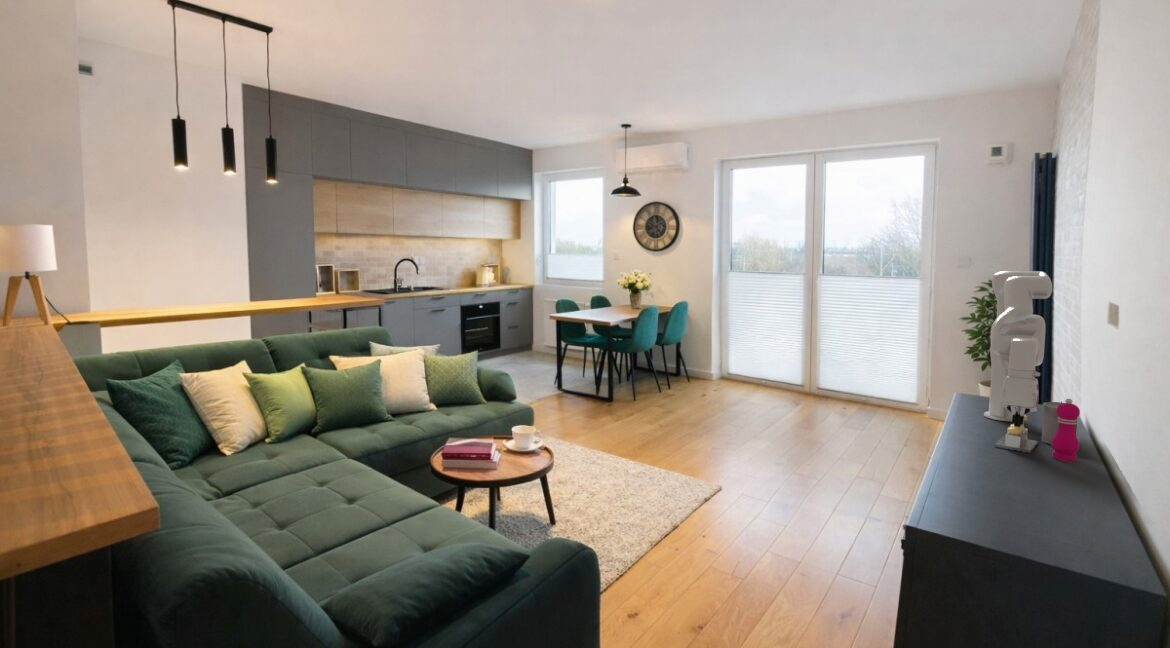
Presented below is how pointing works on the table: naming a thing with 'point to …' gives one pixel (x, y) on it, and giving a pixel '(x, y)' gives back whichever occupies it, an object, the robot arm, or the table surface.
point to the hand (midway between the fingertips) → (1017, 425)
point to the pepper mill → (1066, 432)
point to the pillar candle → (1050, 421)
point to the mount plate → (1016, 442)
